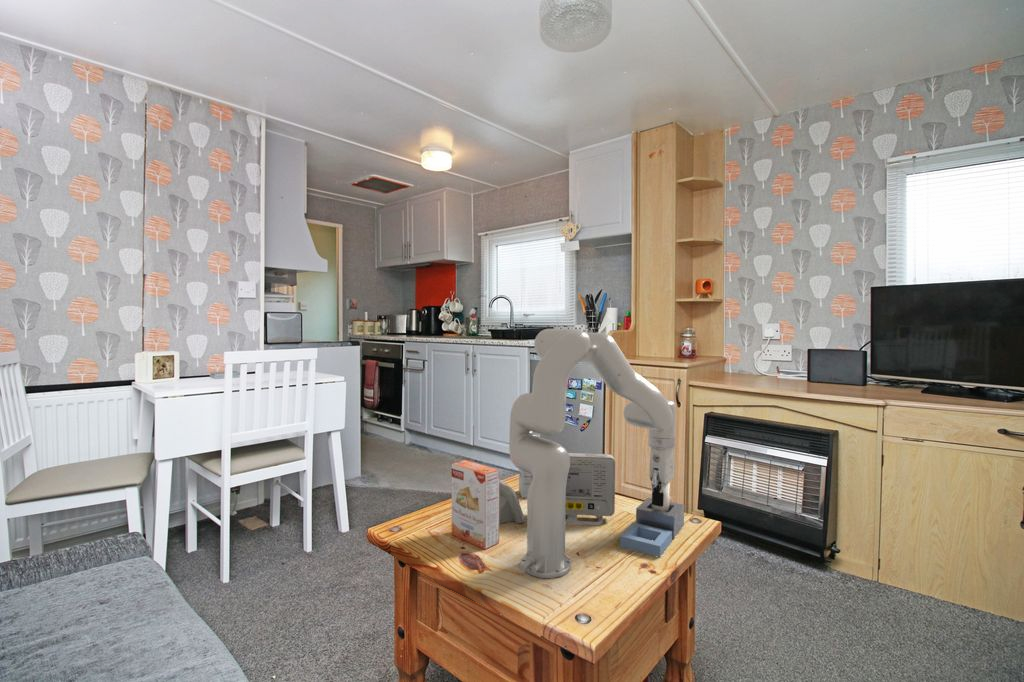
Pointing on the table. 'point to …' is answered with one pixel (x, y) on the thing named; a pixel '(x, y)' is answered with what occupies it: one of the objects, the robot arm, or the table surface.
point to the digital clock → (509, 505)
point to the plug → (666, 498)
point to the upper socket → (661, 516)
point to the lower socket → (646, 539)
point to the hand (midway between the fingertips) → (660, 501)
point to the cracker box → (475, 503)
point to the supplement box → (524, 483)
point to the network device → (590, 487)
